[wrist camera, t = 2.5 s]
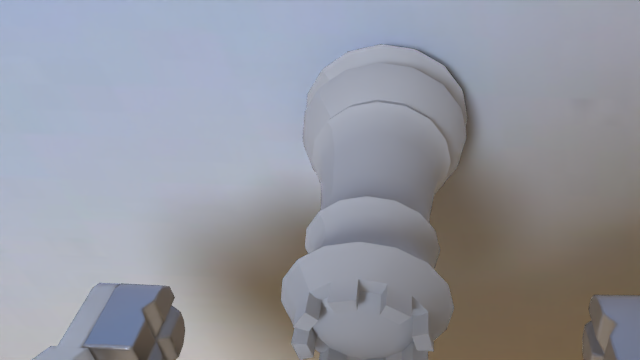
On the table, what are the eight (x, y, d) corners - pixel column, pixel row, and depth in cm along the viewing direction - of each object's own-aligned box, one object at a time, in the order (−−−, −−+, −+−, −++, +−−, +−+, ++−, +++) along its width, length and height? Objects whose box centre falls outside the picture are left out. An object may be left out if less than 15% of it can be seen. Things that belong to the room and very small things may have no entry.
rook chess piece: (276, 111, 17) (191, 338, 11) (380, 1, 15) (347, 212, 8) (389, 196, 18) (370, 439, 12) (501, 107, 16) (549, 357, 10)
